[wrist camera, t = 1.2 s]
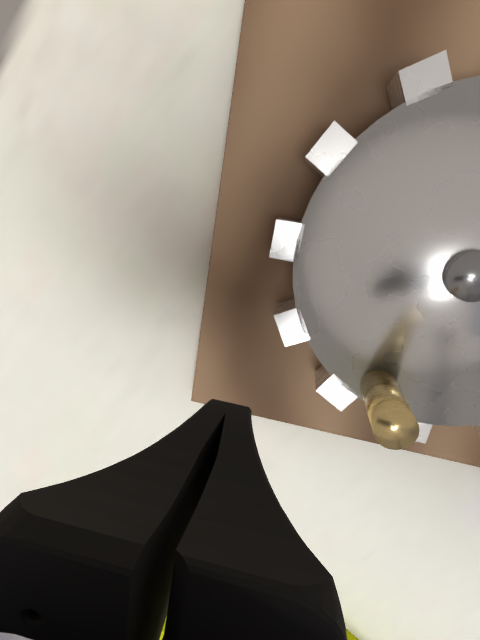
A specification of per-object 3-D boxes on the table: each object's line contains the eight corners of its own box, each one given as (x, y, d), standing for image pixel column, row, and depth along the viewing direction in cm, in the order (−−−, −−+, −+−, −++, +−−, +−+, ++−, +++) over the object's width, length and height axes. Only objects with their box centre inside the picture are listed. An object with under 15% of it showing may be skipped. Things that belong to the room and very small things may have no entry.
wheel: (755, 89, 13) (1041, 20, 8) (560, 452, 19) (659, 549, 13) (313, 34, 15) (319, -55, 10) (247, 383, 20) (229, 446, 15)
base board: (842, 48, 14) (882, 36, 13) (588, 481, 20) (602, 495, 19) (252, -19, 16) (249, -33, 15) (196, 392, 22) (191, 400, 21)
